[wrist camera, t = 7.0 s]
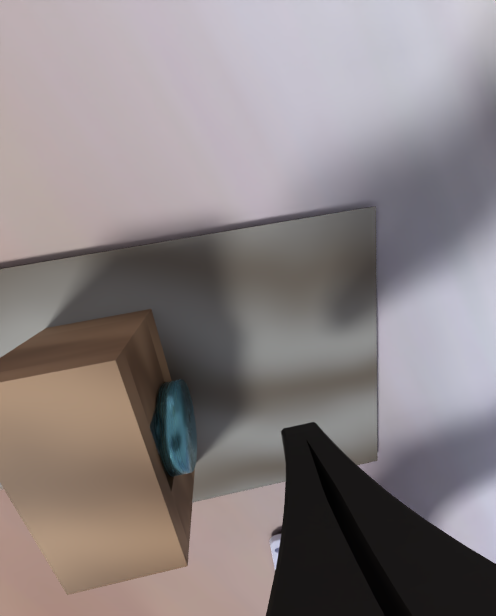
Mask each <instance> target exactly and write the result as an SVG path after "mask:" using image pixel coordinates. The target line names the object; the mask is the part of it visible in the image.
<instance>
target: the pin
mask: <svg viewBox="0 0 496 616" xmlns="http://www.w3.org/2000/svg"><path fill="white" fill-rule="evenodd" d="M150 430H151V433H152V436H153V439H154V442H155V445H156V448H157V451H158V454H159V456H161V460H162V463H163V466H164V468H165V470H166V472H167V474H168V475H169V476H171V477H174V476H178V475H183V474H187V473H192V472H193V471H194V469H195V465H196V458H197V433H196V423H195V415H194V409H193V404H192V399H191V396H190V392H189V389H188V387H187V384H186V383H185V381H184V380H183V379H180V380H175V381H170V382H165V383H163V384H162V385H161V387H160V389H159V392H158V397H157V404H156V408H155V411H154V414H153V417H152V421H151V424H150ZM3 489H4V488H3V487H2V485H1V483H0V490H3Z"/></svg>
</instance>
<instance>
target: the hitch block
mask: <svg viewBox="0 0 496 616" xmlns="http://www.w3.org/2000/svg"><path fill="white" fill-rule="evenodd" d="M180 379H183V380H184V381H185V383H186V384H187V387H188V389H189V392H190V396H191V399H192V404H193V409H194V415H195V423H196V433H197V458H196V465H195V469H194V471H193V472H192V473H187V474H183V475H178V476H174V477H171V476H169V475H168V474H167V472H166V470H165V468H164V466H163V463H162V460H161V456H159V454H158V451H157V448H156V445H155V442H154V439H153V436H152V433H151V430H150V424H151V421H152V417H153V414H154V411H155V408H156V404H157V397H158V392H159V389H160V387H161V385H162V384H163V383H165V382H170V381H175V380H180ZM311 422H315V423H316V424H317V425H318V426H319V427H320V428H321V429H322V430H323V432H324V433H325V434H326V435H327V436H328V437H329V438H330V439H331V440H332V441H333V442H334V443H335V444H336V445H337V446H338V447H339V448H340V449H341V450H342V451H343V452H344V453H345V454H346V455H347V456H348V457H349V458H350V459H351V460H352V461H353V462H354V463H355V464H356V465H360V464H364V463H369V462H373V461H377V321H376V206H375V207H367V208H361V209H355V210H349V211H343V212H337V213H331V214H325V215H319V216H313V217H307V218H301V219H295V220H289V221H283V222H277V223H271V224H265V225H259V226H253V227H247V228H241V229H236V230H230V231H224V232H218V233H212V234H206V235H200V236H194V237H188V238H182V239H176V240H170V241H164V242H158V243H152V244H146V245H140V246H134V247H128V248H122V249H116V250H110V251H104V252H98V253H92V254H86V255H80V256H74V257H68V258H62V259H56V260H50V261H44V262H38V263H32V264H26V265H20V266H14V267H8V268H2V269H0V483H1V485H2V487H3V488H4V490H5V492H6V493H7V495H8V497H9V498H10V500H11V502H12V503H13V505H14V507H15V508H16V510H17V512H18V513H19V515H20V517H21V518H22V520H23V522H24V523H25V525H26V527H27V528H28V530H29V532H30V533H31V535H32V537H33V538H34V540H35V542H36V543H37V545H38V547H39V549H40V550H41V552H42V554H43V555H44V557H45V559H46V560H47V562H48V564H49V565H50V567H51V569H52V570H53V572H54V574H55V575H56V577H57V579H58V580H59V582H60V584H61V585H62V587H63V589H64V590H65V592H66V594H67V595H69V594H73V593H78V592H82V591H86V590H90V589H94V588H98V587H103V586H107V585H111V584H115V583H119V582H123V581H128V580H132V579H136V578H140V577H144V576H148V575H152V574H157V573H161V572H165V571H169V570H173V569H177V568H182V567H186V566H187V565H188V552H189V539H190V526H191V513H192V502H196V501H201V500H205V499H210V498H214V497H219V496H223V495H227V494H232V493H236V492H241V491H245V490H249V489H254V488H258V487H263V486H267V485H271V484H276V483H280V482H285V481H286V462H285V455H284V449H283V442H282V435H281V431H282V430H283V428H288V427H292V426H297V425H302V424H306V423H311Z"/></svg>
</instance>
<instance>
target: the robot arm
mask: <svg viewBox="0 0 496 616" xmlns="http://www.w3.org/2000/svg"><path fill="white" fill-rule="evenodd" d="M281 435H282V442H283V449H284V455H285V462H286V487H285V504H284V515H283V524H282V532H281V534H277V535H274V536H272V537H271V539H270V547H271V552H272V557H273V562H274V567H275V575H274V580H273V585H272V590H271V594H270V599H269V604H268V609H267V613H266V616H496V564H495V563H493V562H491V561H490V560H488V559H486V558H485V557H483V556H481V555H480V554H478V553H476V552H475V551H473V550H471V549H470V548H468V547H466V546H465V545H463V544H462V543H460V542H459V541H457V540H456V539H454V538H452V537H451V536H449V535H448V534H446V533H445V532H443V531H442V530H440V529H439V528H437V527H436V526H434V525H432V524H431V523H429V522H428V521H426V520H425V519H424V518H422V517H421V516H419V515H418V514H417V513H415V512H414V511H412V510H411V509H410V508H408V507H407V506H406V505H404V504H403V503H402V502H400V501H399V500H398V499H396V498H395V497H394V496H392V495H391V494H390V493H389V492H387V491H386V490H385V489H384V488H383V487H381V486H380V485H379V484H378V483H377V482H375V481H374V480H373V479H372V478H371V477H370V476H368V475H367V474H366V473H365V472H364V471H363V470H362V469H361V468H359V467H358V466H357V465H356V464H355V463H354V462H353V461H352V460H351V459H350V458H349V457H348V456H347V455H346V454H345V453H344V452H343V451H342V450H341V449H340V448H339V447H338V446H337V445H336V444H335V443H334V442H333V441H332V440H331V439H330V438H329V437H328V436H327V435H326V434H325V433H324V432H323V430H322V429H321V428H320V427H319V426H318V425H317V424H316V423H315V422H311V423H306V424H302V425H297V426H292V427H288V428H283V430H282V431H281Z"/></svg>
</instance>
